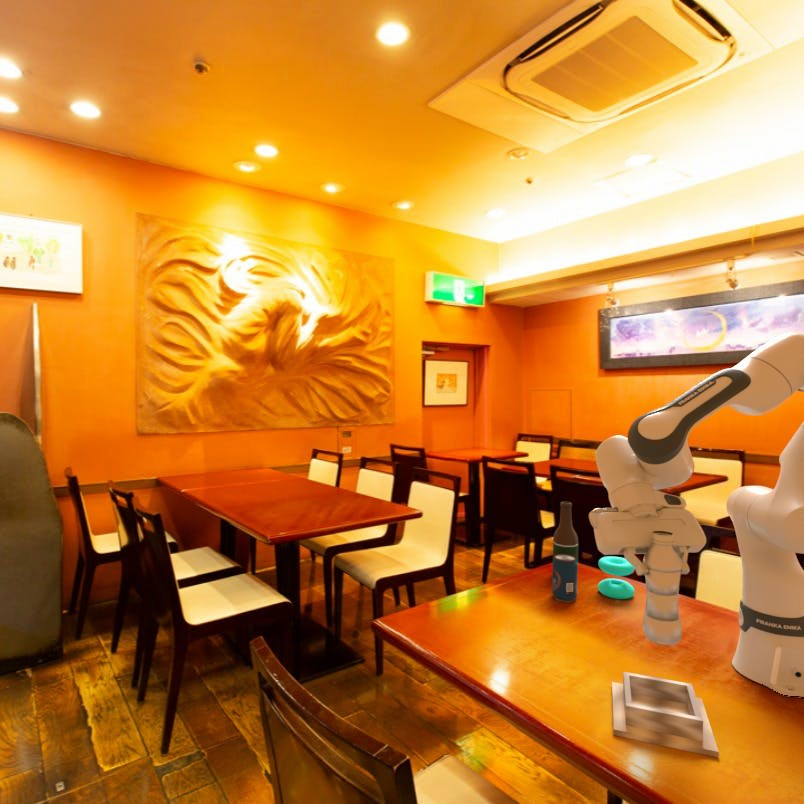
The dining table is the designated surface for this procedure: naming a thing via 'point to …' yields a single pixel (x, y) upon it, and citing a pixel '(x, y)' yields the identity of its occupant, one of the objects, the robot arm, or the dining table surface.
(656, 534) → the plastic bottle
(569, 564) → the soda can
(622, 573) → the donuts
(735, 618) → the dining table surface
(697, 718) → the bottle holder
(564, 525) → the beer bottle
